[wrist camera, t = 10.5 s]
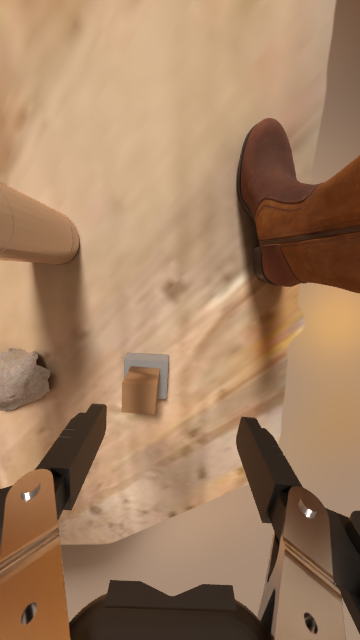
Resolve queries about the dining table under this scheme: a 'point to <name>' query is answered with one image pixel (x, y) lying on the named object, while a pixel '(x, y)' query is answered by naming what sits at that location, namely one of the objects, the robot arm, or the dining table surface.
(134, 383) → the walnut cube
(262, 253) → the boot
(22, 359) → the stone
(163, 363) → the slate block
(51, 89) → the dining table surface
